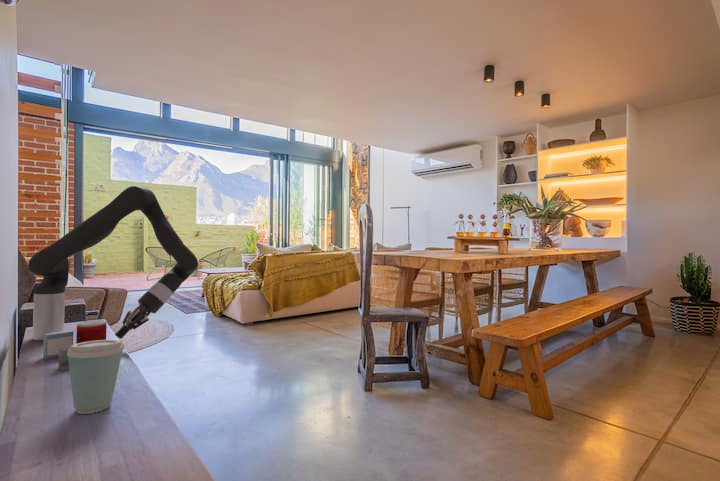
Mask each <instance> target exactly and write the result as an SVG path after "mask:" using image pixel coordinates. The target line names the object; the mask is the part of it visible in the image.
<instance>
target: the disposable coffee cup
mask: <svg viewBox="0 0 720 481" xmlns="http://www.w3.org/2000/svg"><path fill="white" fill-rule="evenodd" d="M124 350H125V344H123V341H122V340H118V339H106V340H95V341H88V342H82V343H77V344H76V343H73V345H72V346H71V347H70V349H69V350H68V351H67V356H68V361H69V369H70V371H69V376H70V383H71V384H70V386H71V392H72V400H73V409H75V412H76V413H77V414H81V415H87V414H89V415H90V414H95V412H96V413H98V411H100V410H103V409H105V408H107V407H108V408H109V407H110V406H111V403H112V402H113V398H114V397H113V396H114V392H115V387H116V383H117V378H118V373H119V369H120V366H121V365H120V364H121V360H122V355H123V352H124ZM108 408H107V409H108ZM105 410H106V409H105ZM103 411H104V410H103ZM100 412H101V411H100Z"/></svg>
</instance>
